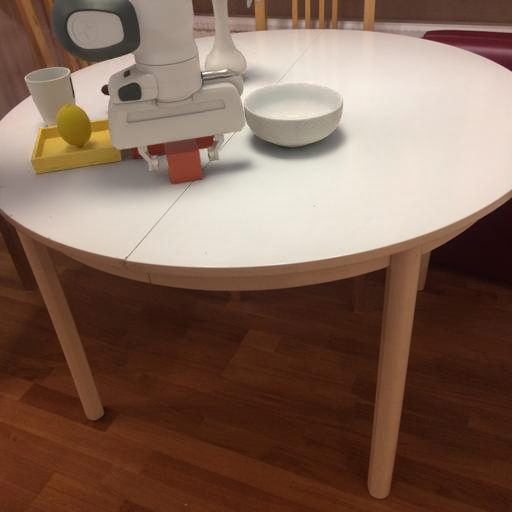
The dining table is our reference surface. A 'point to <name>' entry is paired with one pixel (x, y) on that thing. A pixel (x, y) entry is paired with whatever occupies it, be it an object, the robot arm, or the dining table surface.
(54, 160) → the yellow tray
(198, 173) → the red block
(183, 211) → the dining table surface
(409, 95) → the dining table surface
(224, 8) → the flower vase
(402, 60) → the dining table surface
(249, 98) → the cereal bowl
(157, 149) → the red tray
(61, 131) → the lemon
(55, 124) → the cup
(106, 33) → the robot arm
